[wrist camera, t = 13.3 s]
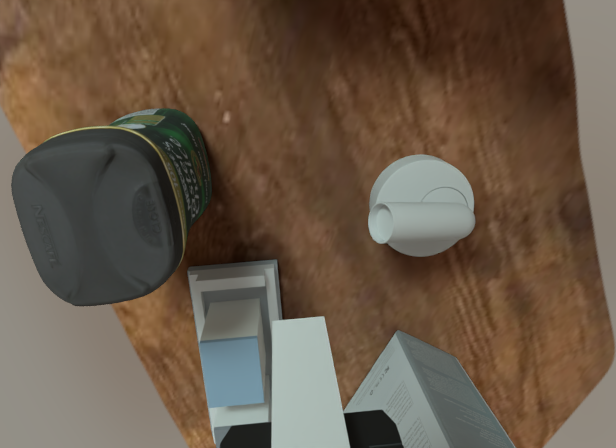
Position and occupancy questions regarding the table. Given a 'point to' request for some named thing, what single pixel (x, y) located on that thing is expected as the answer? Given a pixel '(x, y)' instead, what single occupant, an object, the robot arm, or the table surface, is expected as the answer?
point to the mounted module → (243, 414)
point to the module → (234, 353)
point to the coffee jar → (112, 205)
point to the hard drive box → (428, 398)
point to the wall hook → (421, 206)
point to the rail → (237, 298)
